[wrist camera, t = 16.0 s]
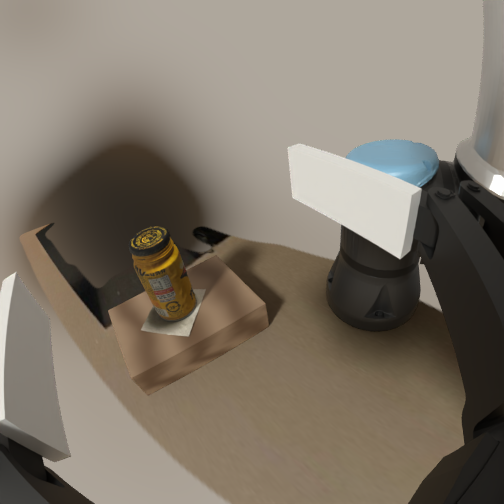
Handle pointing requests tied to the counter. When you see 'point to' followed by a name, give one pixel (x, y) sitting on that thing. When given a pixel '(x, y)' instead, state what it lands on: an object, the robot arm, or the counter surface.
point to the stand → (201, 335)
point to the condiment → (165, 283)
